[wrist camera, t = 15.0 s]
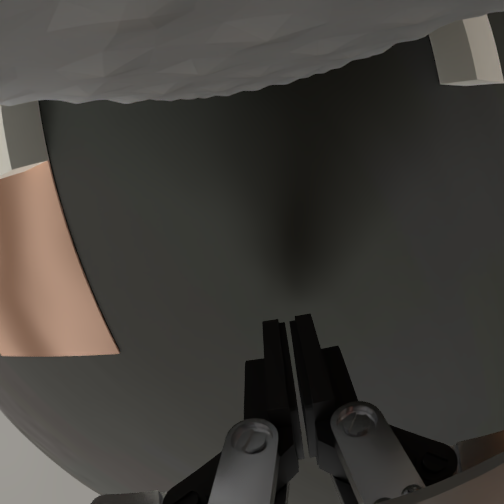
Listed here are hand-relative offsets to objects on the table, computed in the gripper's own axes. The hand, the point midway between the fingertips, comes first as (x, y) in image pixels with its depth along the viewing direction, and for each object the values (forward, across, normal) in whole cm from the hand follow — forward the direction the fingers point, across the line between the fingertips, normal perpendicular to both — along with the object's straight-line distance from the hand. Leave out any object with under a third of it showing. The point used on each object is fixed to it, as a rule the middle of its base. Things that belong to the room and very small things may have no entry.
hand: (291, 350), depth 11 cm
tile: (+2, +13, -4) cm, 14 cm away
